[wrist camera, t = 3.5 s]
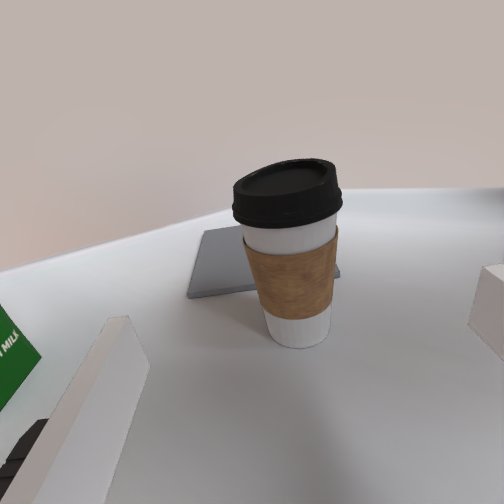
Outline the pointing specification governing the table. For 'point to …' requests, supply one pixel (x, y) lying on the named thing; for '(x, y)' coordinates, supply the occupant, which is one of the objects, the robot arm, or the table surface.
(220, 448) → the table surface
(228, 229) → the mat
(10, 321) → the milk carton
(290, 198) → the coffee cup
